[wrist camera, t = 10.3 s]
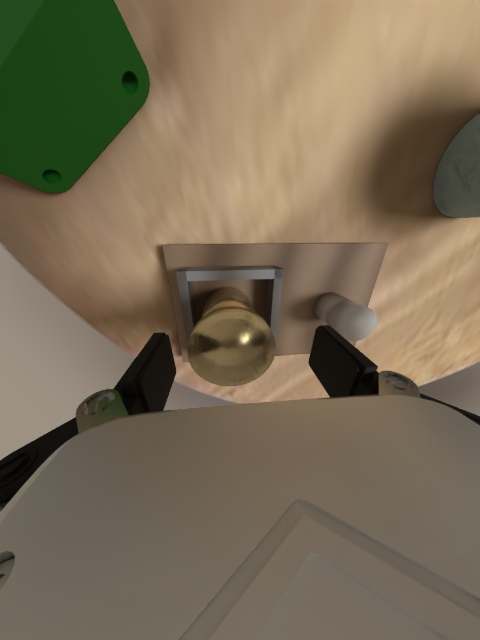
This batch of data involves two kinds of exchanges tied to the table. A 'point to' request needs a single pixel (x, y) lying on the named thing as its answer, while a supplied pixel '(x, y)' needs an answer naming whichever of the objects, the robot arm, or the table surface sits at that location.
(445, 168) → the grey-green cup
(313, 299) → the fitting board
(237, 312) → the brass door knob
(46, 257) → the table surface
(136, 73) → the clamp
